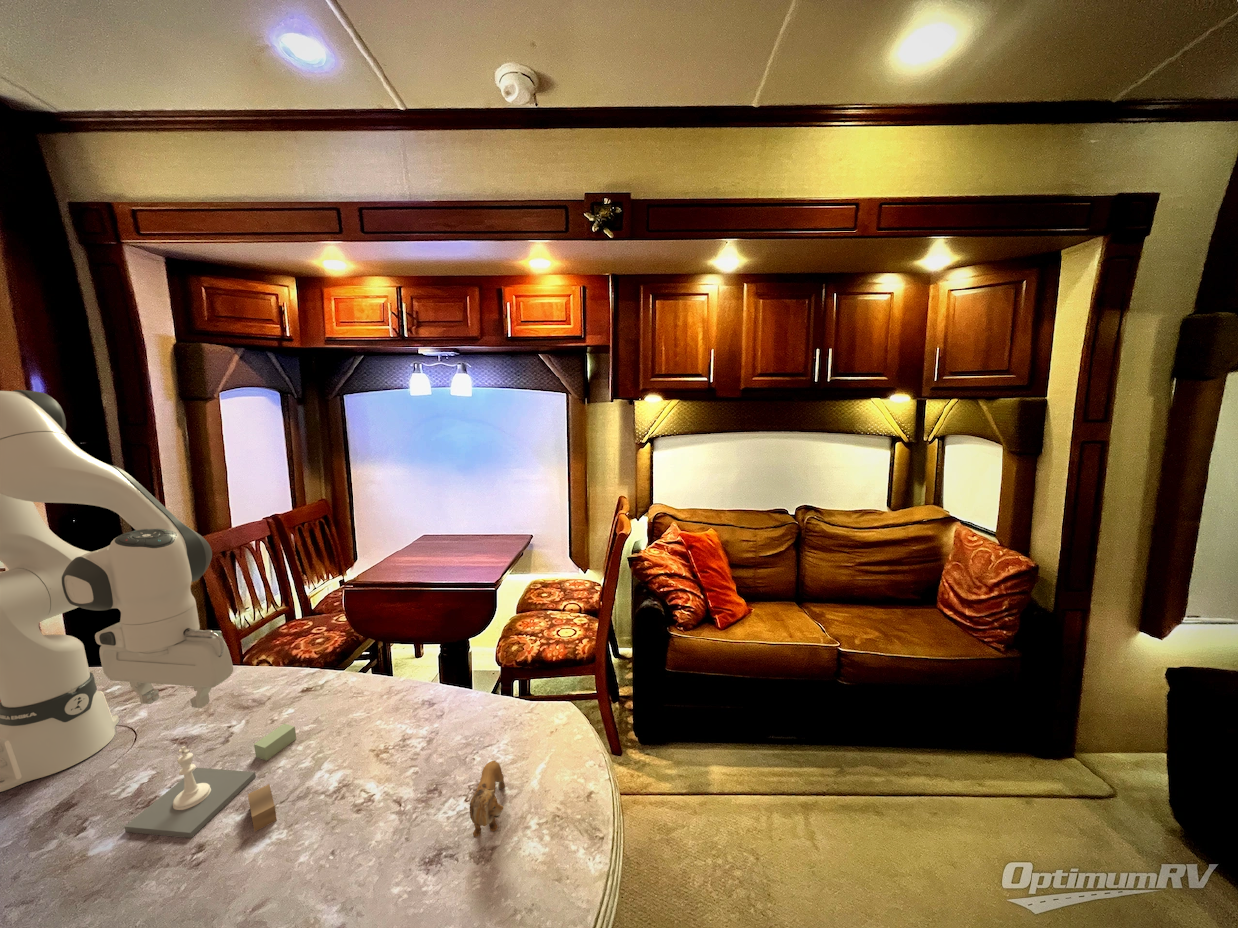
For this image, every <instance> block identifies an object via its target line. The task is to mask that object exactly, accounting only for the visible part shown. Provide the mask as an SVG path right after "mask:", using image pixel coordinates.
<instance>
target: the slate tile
mask: <svg viewBox="0 0 1238 928" xmlns="http://www.w3.org/2000/svg"><path fill="white" fill-rule="evenodd" d="M192 774H193V776H194V779H195V781H196V784H199V783H207V784H209V785H210V788H211V792H210V794H209V795H208V796H207V797H206V798H205V799H204V800H203V801H202V802H200V803H199V804H197V805H195V806H193V807H191V808H188V809H184V810H175V809H174V808H173V801H174V799H175V797H176V796H177V795H178V794H179V793H180V792H182V791H183V790H184V777H183V778H182V779H181V780H180V781H178V782H177V783H176V784H175V785H173V786H172V787H171V788H170V789H169V790H168V791H166V792H165V793H164V794H163V795H161V796H160V797H158V798H157V799H156V800H155V801H154V802H153V803H151V804H150V805H149V806H148V807H146V808H145V809H144V810H143V811H141V812H140V813H139V814H138V815H136V816H135V817H134V818H133V819H132V820H131V821H129V822H128V823H127V824H126V825H124V832H125V833H132V834H133V833H134V834H135V833H136V834H143V835H144V834H146V835H153V836H154V835H156V836H166V837H176V838H177V837H178V838H186V839H187V838H189V839H193V837H194V836H195V835H196V834H197V833H198V832H200V830H201V829H203V828H204V827H205V826H206V825H207V824H208V823H209V822H210V821H211V820H213V818H214V817H215V816H216V815H218V813H219V812H220V811H222V810H223V809H224V808H225V806H227V805H228V804H229V803H230V802H231V801H232V800H233V799H234V798H235V797H236V796H237V795H238V794H239V793H240V792H241V791H242V790H243V789H245V787H247V785H249V784H250V783H251V782H252V781H253V780H254V779H255V778H256V777H257V776H256V772H255V771H247V770H245V771H244V770H233V769H221V768H220V769H219V768H210V767H209V768H207V767H195V769H194V770H193V771H192Z"/></svg>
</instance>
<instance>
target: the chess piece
mask: <svg viewBox="0 0 1238 928" xmlns="http://www.w3.org/2000/svg"><path fill="white" fill-rule="evenodd" d="M178 754H181V756H179V757H178V758H177V764H179V766H180V767H181V769H179V771H178V775H179V776H183V778H184V790H183V791H182V792H180V793H179V794H178V795H177V796H176V797H175V799H174V801H173V808H174V809H175V810H184V809H188V808H191V807H193V806H195V805H197V804H199V803H200V802H202V801H203V800H204V799H205V798H206V797H207V796H208V795H209V794H210V792H211V788H210V785H209V784H207V783H199V784H196V781H195V779H194V776H193V774H192V771H193V770H194V769H196V768H197V766H196V764H194V763H192V760H193V757H194V754H193V753H192V752H191V751H190V749H187V747H186V746H185V745H183V746H181V747H180V749H179V750H178Z"/></svg>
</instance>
